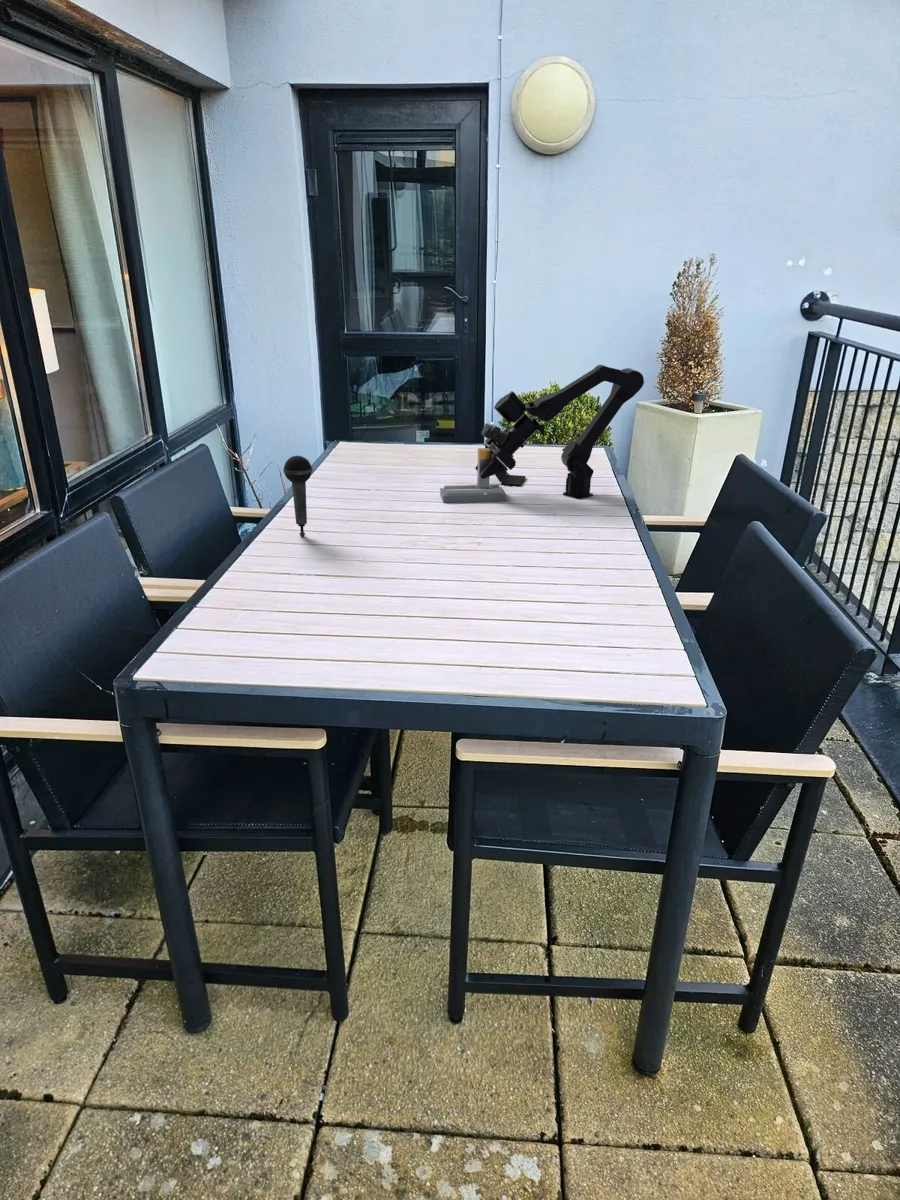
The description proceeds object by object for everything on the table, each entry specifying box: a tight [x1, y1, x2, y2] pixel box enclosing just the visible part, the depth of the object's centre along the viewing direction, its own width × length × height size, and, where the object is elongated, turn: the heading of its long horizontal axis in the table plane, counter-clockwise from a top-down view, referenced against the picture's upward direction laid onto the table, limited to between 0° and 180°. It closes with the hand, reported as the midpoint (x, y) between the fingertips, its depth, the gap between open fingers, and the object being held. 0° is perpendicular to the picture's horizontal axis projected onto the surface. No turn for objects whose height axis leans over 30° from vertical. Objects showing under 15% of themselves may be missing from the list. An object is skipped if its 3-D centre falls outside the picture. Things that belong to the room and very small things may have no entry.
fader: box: [473, 447, 493, 489], centre depth 223 cm, size 5×3×12 cm, turn 97°
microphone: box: [282, 455, 313, 538], centre depth 189 cm, size 7×7×20 cm
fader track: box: [439, 483, 507, 504], centre depth 225 cm, size 18×8×3 cm, turn 97°
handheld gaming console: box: [494, 471, 527, 488], centre depth 243 cm, size 12×7×10 cm
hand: (478, 473), depth 223 cm, fingers open, 9 cm apart
